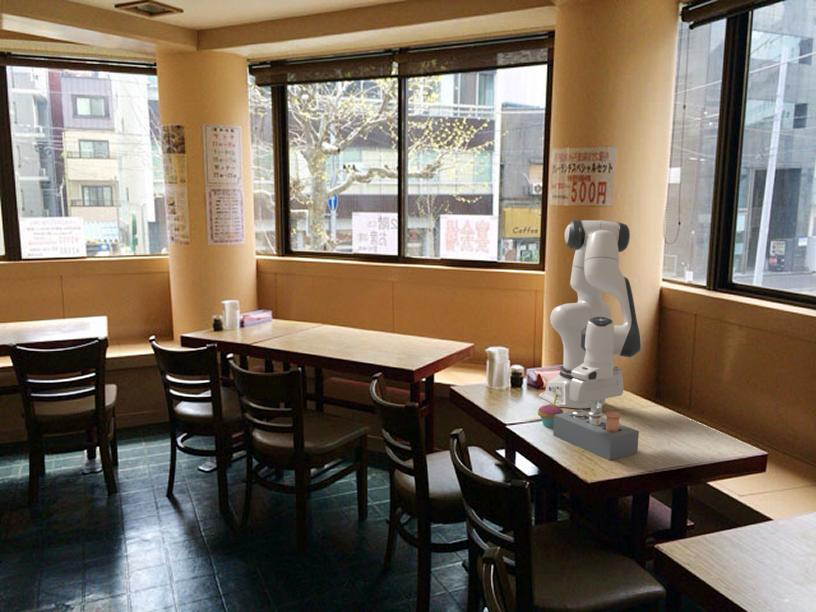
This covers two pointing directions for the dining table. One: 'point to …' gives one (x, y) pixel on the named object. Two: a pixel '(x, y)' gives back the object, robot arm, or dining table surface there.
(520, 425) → the dining table surface
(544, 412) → the cupcake
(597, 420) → the steel plug
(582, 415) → the steel plug
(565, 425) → the slate block
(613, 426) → the terracotta plug
